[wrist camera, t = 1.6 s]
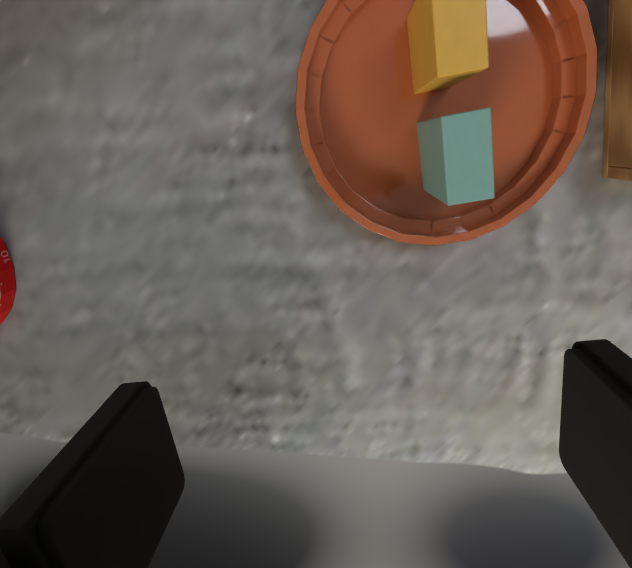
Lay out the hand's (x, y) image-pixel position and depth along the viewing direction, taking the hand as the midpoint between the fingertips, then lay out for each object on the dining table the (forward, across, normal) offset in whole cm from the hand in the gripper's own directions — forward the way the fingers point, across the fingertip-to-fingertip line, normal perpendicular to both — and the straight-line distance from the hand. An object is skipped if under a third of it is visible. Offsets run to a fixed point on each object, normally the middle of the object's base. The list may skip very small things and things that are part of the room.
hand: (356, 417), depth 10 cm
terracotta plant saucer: (+24, -7, -7) cm, 26 cm away
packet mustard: (+23, -6, -10) cm, 26 cm away
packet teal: (+23, -7, -4) cm, 24 cm away
